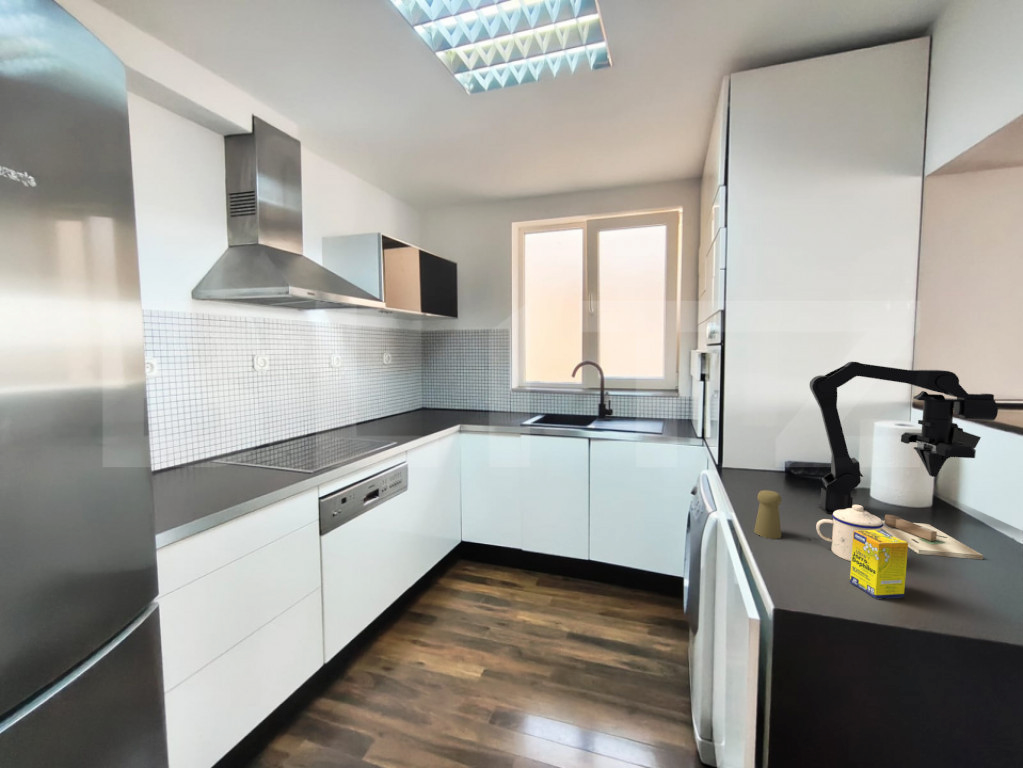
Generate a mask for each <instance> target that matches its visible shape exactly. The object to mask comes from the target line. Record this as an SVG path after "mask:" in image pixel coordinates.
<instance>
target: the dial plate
mask: <svg viewBox="0 0 1023 768" xmlns="http://www.w3.org/2000/svg"><path fill="white" fill-rule="evenodd" d="M882 522H883V527H882V531H884V532H885V533H887V534H889V535H891V536H894V537H896V538H898V539H900V540H902V541H905V542H907V543H908V549H911V550H912V551H913V552H915V553H916V554H918V555H928V556H929V555H930V556H940V557H949V558H961V559H970V560H971V559H975V560H983V559H984V555H983V554H981V553H980V552H978V551H977V550H974V549H973V548H971V547H969V546H968V545H966V544H964V543H963V542H961V541H959V540H957V539H956V538H954V537H952V536H950V535H948V534H947V533H945V532H943V531H941V530H939V529H937V528H936V527H934V526H932V525H931V524H929V523H921V522H920V523H917V522H913V523H914V524H917V525H919V526H922V527H925V528H928V529H930V530H933V531H936V532H937V536H936V540H935V541H929V540H927V539H924V538H922V537H919V536H917V535H914V534H911V533H909V532H906V531H904V530H901V529H899V528H896V527H891V526H888V525H885V520H882Z"/></svg>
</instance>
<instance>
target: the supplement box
mask: <svg viewBox="0 0 1023 768" xmlns="http://www.w3.org/2000/svg"><path fill="white" fill-rule="evenodd" d="M908 550H909V547H908V543H907V542H905V541H902V540H900V539H898V538H896V537H894V536H892V535H890V534H889V533H888V532H886V531H884V530H882V531H881V530H858V531H853V542H852V557H851V561H850V574H849V583H850V584H852V585H854V586H855V587H857V588H858V589H860V590H862V591H863V592H865V594H868V595H870V596H871V597H872V598H874V599H875V600H882V598H886V599H899V598H900V599H901V598H902V597H903V598H904V597H905V587H906V576H907V563H908V562H907V561H908Z"/></svg>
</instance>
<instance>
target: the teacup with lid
mask: <svg viewBox="0 0 1023 768" xmlns="http://www.w3.org/2000/svg"><path fill="white" fill-rule="evenodd" d="M831 516H832V518H833V519H828V518H823V519H820V520H818V521H817V522H816V524H815V525H816V526H815V527H816V532H817V534H818V536H819V537H820V538H821V539H822V540H824V541H827V542H831V552H832V553H833V554H834V555H835V556H837V557H839V558H840V559H843V560H846V561H848V562H851V557H852V542H853V531H858V530H881V531H883V529H882V527H883V522H882V521H883V520H882V519H881V518H880V517H878V516H876V515H875V514H872V513H870V512H869V511H867V510H864V506H863V505H859V504H852V508H848V509H843V510H836V511H834V512H833V514H831ZM822 524H831V525H832V532H831V533H832V535H831V537H828V536H826V535H825V534H823V533H822V531H821V529H820V528H821V525H822Z"/></svg>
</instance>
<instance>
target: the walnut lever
mask: <svg viewBox="0 0 1023 768" xmlns="http://www.w3.org/2000/svg"><path fill="white" fill-rule="evenodd" d="M884 521H885V525H888V526H891V527H896V528H899V529H901V530H904V531H906V532H909V533H911V534H914V535H917V536H919V537H922V538H924V539H927V540H929V541H935V540H936V536H937V532H936V531H933V530H930V529H928V528H925V527H922V526H919V525H917V524H914V523H915V522H912V521H908V520H906V519H902V517H901V516H897V515H894V514H885V515H884Z"/></svg>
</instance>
